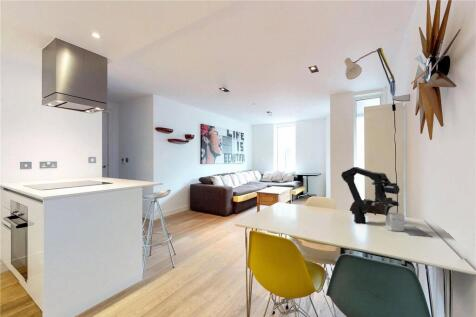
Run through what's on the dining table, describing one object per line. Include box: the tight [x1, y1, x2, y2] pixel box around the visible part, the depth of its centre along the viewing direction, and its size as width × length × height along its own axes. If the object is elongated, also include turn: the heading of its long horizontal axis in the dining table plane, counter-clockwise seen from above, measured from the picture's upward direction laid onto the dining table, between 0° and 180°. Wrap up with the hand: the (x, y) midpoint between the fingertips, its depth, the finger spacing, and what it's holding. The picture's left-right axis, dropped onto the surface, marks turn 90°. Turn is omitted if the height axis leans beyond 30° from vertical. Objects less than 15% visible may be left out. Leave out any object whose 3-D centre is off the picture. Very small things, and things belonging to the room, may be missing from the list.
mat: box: [403, 225, 433, 238], centre depth 131 cm, size 11×18×1 cm, turn 164°
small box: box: [385, 211, 405, 232], centre depth 133 cm, size 8×6×10 cm
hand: (380, 215), depth 136 cm, fingers open, 6 cm apart
